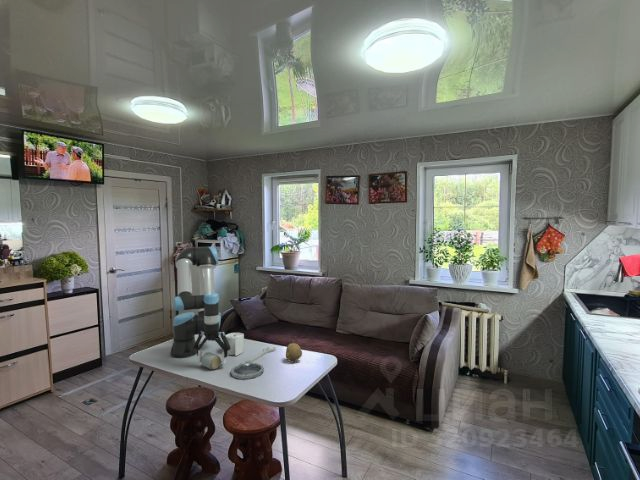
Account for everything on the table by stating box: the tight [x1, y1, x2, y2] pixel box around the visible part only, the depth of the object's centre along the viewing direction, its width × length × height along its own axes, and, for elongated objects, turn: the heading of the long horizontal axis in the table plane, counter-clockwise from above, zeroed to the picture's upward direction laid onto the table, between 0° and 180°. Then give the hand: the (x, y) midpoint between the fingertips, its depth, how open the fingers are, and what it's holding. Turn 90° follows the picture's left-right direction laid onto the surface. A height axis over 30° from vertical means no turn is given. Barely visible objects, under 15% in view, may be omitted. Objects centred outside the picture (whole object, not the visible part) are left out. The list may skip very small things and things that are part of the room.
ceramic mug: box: [200, 351, 224, 370], centre depth 179 cm, size 11×8×8 cm
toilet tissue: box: [225, 332, 245, 357], centre depth 200 cm, size 11×12×10 cm
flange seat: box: [230, 362, 265, 380], centre depth 171 cm, size 16×16×2 cm
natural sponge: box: [285, 342, 303, 362], centre depth 186 cm, size 9×9×10 cm
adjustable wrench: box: [245, 346, 276, 363], centre depth 195 cm, size 25×6×2 cm, turn 150°
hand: (212, 362), depth 178 cm, fingers open, 13 cm apart
